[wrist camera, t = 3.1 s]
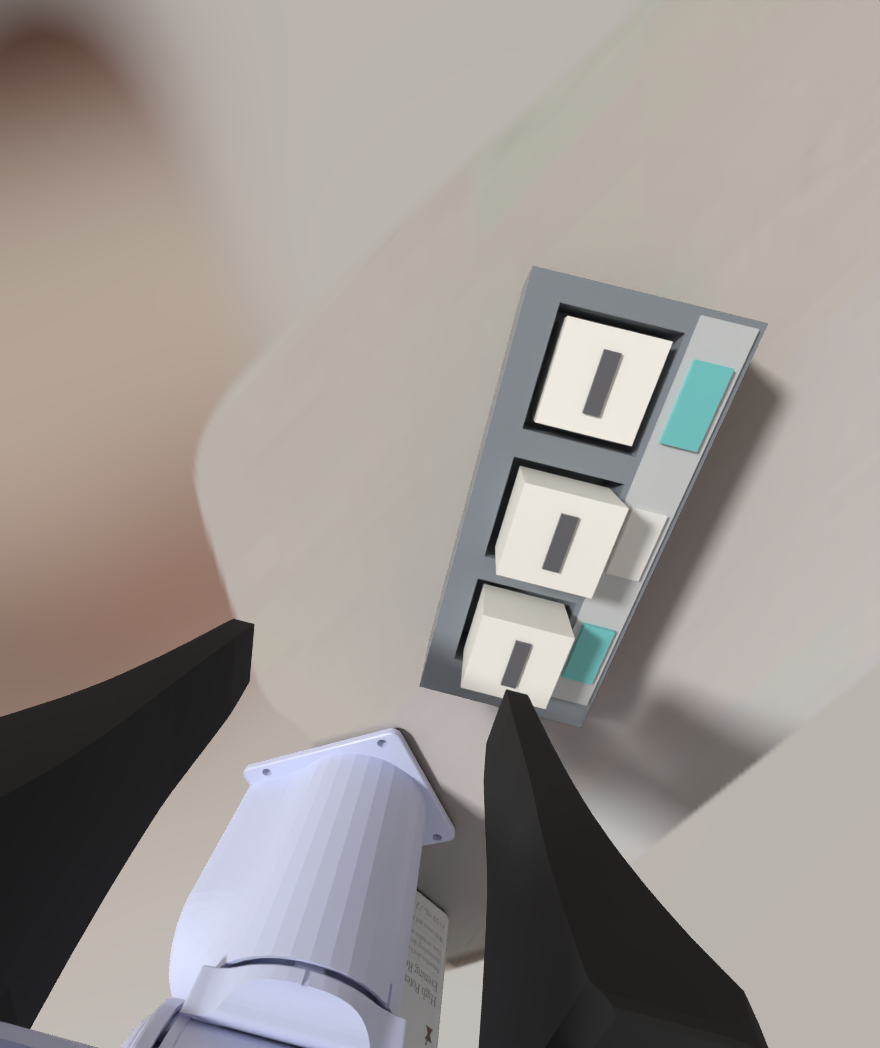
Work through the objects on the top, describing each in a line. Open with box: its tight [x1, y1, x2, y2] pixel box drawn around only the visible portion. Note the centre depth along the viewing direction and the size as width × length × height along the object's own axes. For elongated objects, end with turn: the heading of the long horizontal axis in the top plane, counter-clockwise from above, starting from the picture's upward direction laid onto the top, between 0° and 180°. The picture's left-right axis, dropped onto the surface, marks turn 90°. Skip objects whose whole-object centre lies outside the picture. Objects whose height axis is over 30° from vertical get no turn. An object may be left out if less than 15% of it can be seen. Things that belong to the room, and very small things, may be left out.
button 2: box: [529, 316, 673, 446], centre depth 14 cm, size 3×3×2 cm
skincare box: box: [400, 890, 449, 1048], centre depth 22 cm, size 6×4×12 cm
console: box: [420, 266, 768, 728], centre depth 16 cm, size 15×7×3 cm, turn 167°
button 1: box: [461, 584, 575, 709], centre depth 15 cm, size 3×3×2 cm
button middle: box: [495, 466, 629, 599], centre depth 14 cm, size 3×3×2 cm
